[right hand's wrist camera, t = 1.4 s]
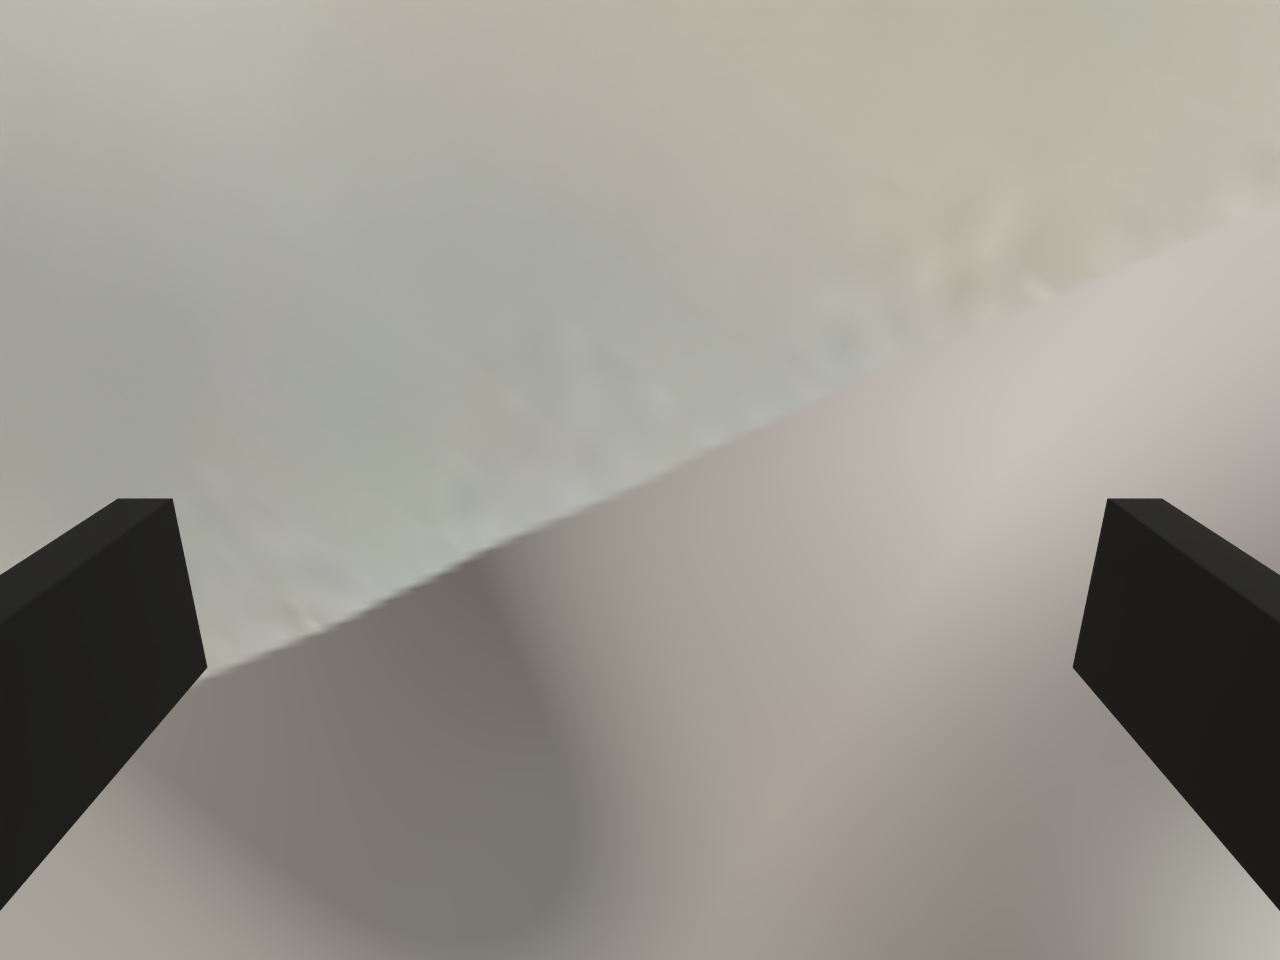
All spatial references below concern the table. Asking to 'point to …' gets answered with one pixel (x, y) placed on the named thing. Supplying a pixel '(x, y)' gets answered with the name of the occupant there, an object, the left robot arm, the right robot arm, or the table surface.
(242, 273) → the table surface
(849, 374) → the table surface
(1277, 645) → the right robot arm
